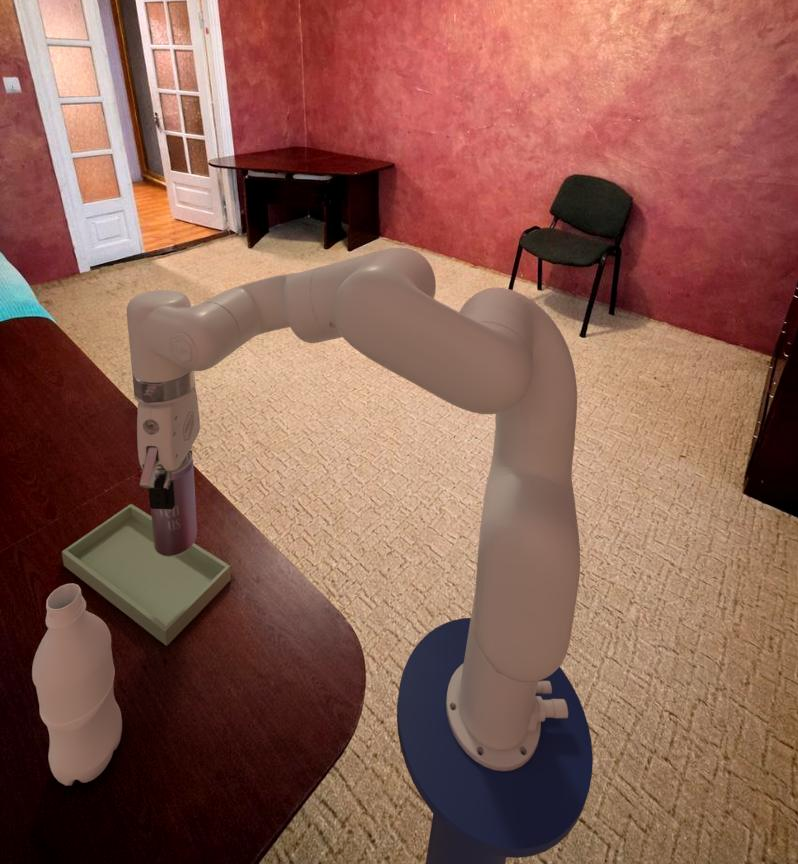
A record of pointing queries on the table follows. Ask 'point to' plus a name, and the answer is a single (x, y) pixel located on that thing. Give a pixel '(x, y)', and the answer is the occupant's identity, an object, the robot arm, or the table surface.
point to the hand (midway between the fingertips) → (172, 488)
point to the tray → (146, 573)
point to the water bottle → (76, 688)
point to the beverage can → (177, 513)
